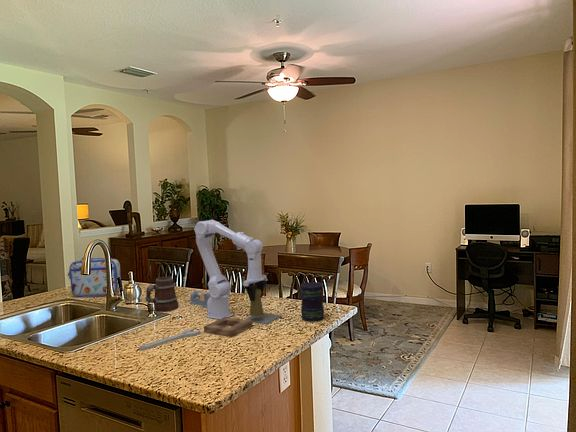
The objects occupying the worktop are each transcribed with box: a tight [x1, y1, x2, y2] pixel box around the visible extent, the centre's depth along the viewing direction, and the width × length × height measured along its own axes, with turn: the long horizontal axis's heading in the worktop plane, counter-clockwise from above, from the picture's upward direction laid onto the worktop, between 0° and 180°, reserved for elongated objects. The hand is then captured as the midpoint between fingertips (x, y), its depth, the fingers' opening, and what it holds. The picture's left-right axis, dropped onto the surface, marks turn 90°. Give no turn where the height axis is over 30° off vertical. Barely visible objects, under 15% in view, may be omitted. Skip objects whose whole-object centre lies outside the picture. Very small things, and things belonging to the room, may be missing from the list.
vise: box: [183, 289, 211, 309], centre depth 218 cm, size 18×10×7 cm, turn 46°
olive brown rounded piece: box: [249, 289, 265, 317], centre depth 186 cm, size 6×6×11 cm
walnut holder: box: [203, 316, 253, 338], centre depth 176 cm, size 14×14×2 cm
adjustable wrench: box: [138, 328, 201, 352], centre depth 166 cm, size 25×6×2 cm, turn 131°
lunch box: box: [67, 257, 121, 298], centre depth 243 cm, size 28×10×22 cm, turn 93°
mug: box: [144, 276, 179, 312], centre depth 209 cm, size 16×12×15 cm
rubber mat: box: [243, 312, 283, 325], centre depth 189 cm, size 12×12×1 cm
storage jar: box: [300, 281, 325, 323], centre depth 186 cm, size 10×10×15 cm
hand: (256, 299), depth 186 cm, fingers closed on olive brown rounded piece, 5 cm apart
